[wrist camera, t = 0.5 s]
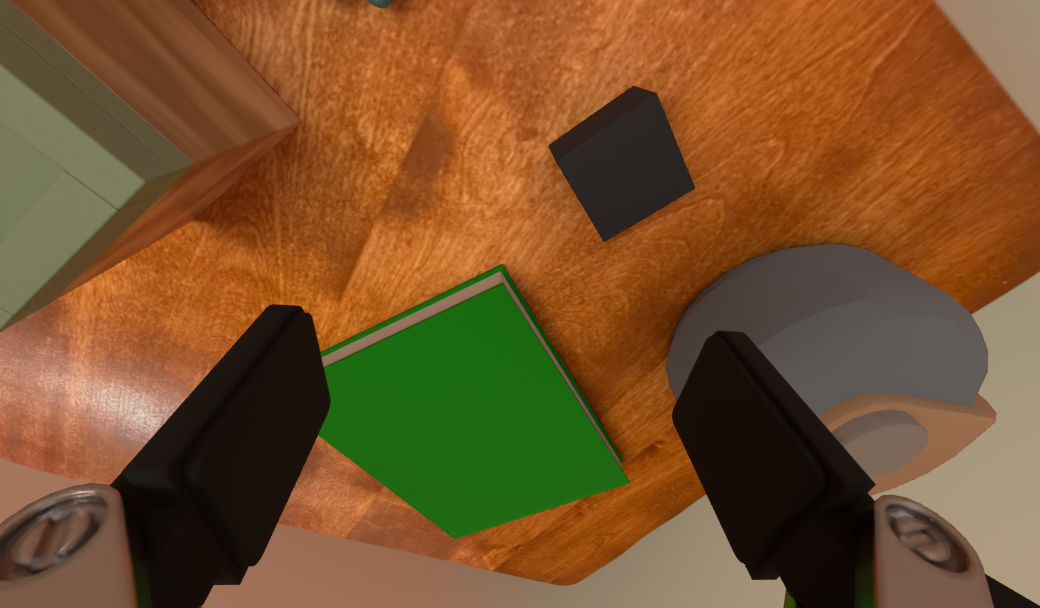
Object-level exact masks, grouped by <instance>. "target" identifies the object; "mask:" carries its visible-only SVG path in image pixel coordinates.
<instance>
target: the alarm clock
mask: <svg viewBox="0 0 1040 608" xmlns="http://www.w3.org/2000/svg"><path fill="white" fill-rule="evenodd" d="M720 330H721V331H738V332H743V333H745V334H746V335H747V336H748V337H749V338H750V339H751V340H752V342H753V343H754V344H755V345H756V346H757V347H758V349H759V350H760V351H761V352H762V353H763V354H764V355H765V357H766V358H767V359H768V360H769V361H770V362H771V364H772V365H773V366H774V367H775V368H776V369H777V370H778V372H779V373H780V374H781V375H782V376H783V377H784V379H785V380H786V381H787V382H788V383H789V384H790V386H791V387H792V388H793V389H794V390H795V391H796V392H797V394H798V395H799V396H800V397H801V398H802V399H803V401H804V402H805V403H806V404H807V405H808V406H809V408H810V409H811V410H812V411H813V412H814V413H815V414H816V416H817V417H818V418H819V419H820V420H821V421H822V423H823V424H824V425H825V426H826V427H827V428H828V429H829V431H830V432H831V433H832V434H833V435H834V436H835V438H836V439H837V440H838V441H839V442H840V443H841V445H842V446H843V447H844V448H845V449H846V450H847V451H848V453H849V454H850V455H851V456H852V457H853V458H854V460H855V461H856V462H857V463H858V464H859V465H860V466H861V468H862V469H863V470H864V471H865V472H866V473H867V475H868V476H869V477H870V478H871V479H872V480H873V482H874V483H875V484H876V485H875V486H874V487H873V488H872V489H871V490H870V491H869V492H868V494H869V495H870V496H871V495H874V494H878V493H881V492H884V491H887V490H890V489H893V488H896V487H898V486H900V485H903V484H905V483H907V482H909V481H911V480H914V479H916V478H918V477H920V476H922V475H925V474H927V473H928V472H930V471H931V470H933V469H935V468H937V467H938V466H940V465H941V464H943V463H945V462H946V461H948V460H950V459H951V458H953V457H954V456H956V455H957V454H958V453H959V452H960V451H961V450H963V449H964V448H965V447H966V446H968V445H969V444H970V443H971V442H972V441H973V440H975V439H976V438H977V437H978V436H980V435H981V434H982V433H983V432H984V431H986V430H987V429H988V428H989V427H990V426H991V425H993V424H994V423H995V421H996V412H995V410H994V409H993V408H992V407H991V406H990V405H989V403H988V402H987V401H986V400H985V399H984V398H983V397H981V396H980V395H979V394H978V391H979V389H980V387H981V385H982V383H983V381H984V379H985V376H986V374H987V370H988V369H987V368H988V350H987V347H986V344H985V341H984V338H983V336H982V333H981V331H980V329H979V327H978V326H977V324H976V322H975V320H974V319H973V317H972V315H971V314H970V312H969V311H968V310H967V309H965V308H964V307H963V306H962V305H961V304H960V303H958V302H957V301H956V300H955V299H954V298H953V297H951V296H950V295H949V294H947V293H945V292H943V291H942V290H940V289H938V288H936V287H935V286H933V285H931V284H929V283H928V282H926V281H924V280H922V279H920V278H919V277H917V276H915V275H913V274H911V273H910V272H908V271H906V270H904V269H902V268H901V267H899V266H897V265H895V264H893V263H891V262H890V261H888V260H886V259H884V258H882V257H881V256H879V255H877V254H875V253H873V252H872V251H870V250H868V249H866V248H860V247H854V246H848V245H842V244H826V245H815V246H804V247H795V248H784V249H781V250H777V251H774V252H771V253H768V254H764V255H761V256H758V257H755V258H752V259H751V260H749V261H747V262H745V263H743V264H741V265H739V266H737V267H735V268H734V269H732V270H730V271H728V272H726V273H725V274H723V275H722V276H721V277H720V278H718V279H717V280H716V281H715V282H713V283H712V284H711V285H709V286H708V287H707V288H706V289H704V290H703V291H702V292H701V293H700V294H699V296H698V297H697V298H696V299H695V300H694V301H693V303H692V304H691V305H690V306H689V307H688V309H687V310H686V311H685V312H684V314H683V316H682V318H681V320H680V322H679V324H678V326H677V328H676V330H675V332H674V336H673V341H672V343H671V345H670V350H669V356H668V361H667V367H666V369H667V374H668V379H669V385H670V388H671V390H672V392H673V394H674V396H675V398H676V400H678V398H679V396H680V394H681V392H682V389H683V387H684V385H685V383H686V381H687V379H688V377H689V375H690V373H691V370H692V368H693V366H694V364H695V362H696V360H697V358H698V356H699V353H700V351H701V349H702V347H703V345H704V343H705V341H706V339H707V338H708V337H709V336H712V335H713V334H714V333H715V332H716V331H720Z"/></svg>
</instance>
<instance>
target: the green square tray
mask: <svg viewBox="0 0 1040 608" xmlns="http://www.w3.org/2000/svg"><path fill="white" fill-rule="evenodd" d="M192 165H193V163H192V162H191V161H190V160H189V159H188V158H186V157H185V156H184V155H183V154H182V153H181V152H180V151H178V150H177V149H176V148H175V147H174V146H173V145H172V144H171V143H169V142H168V141H167V140H166V139H165V138H164V137H163V136H161V135H160V134H159V133H158V132H157V131H156V130H155V129H154V128H152V127H151V126H150V125H149V124H148V123H147V122H146V121H145V120H143V119H142V118H141V117H140V116H139V115H138V114H137V113H135V112H134V111H133V110H132V109H131V108H130V107H129V106H128V105H126V104H125V103H124V102H123V101H122V100H121V99H120V98H118V97H117V96H116V95H115V94H114V93H113V92H112V91H111V90H109V89H108V88H107V87H106V86H105V85H104V84H103V83H101V82H100V81H99V80H98V79H97V78H96V77H95V76H94V75H92V74H91V73H90V72H89V71H88V70H87V69H86V68H85V67H83V66H82V65H81V64H80V63H79V62H78V61H77V60H75V59H74V58H73V57H72V56H71V55H70V54H69V53H68V52H66V51H65V50H64V49H63V48H62V47H61V46H60V45H58V44H57V43H56V42H55V41H54V40H53V39H52V38H51V37H49V36H48V35H47V34H46V33H45V32H44V31H43V30H42V29H40V28H39V27H38V26H37V25H36V24H35V23H34V22H32V21H31V20H30V19H29V18H28V17H27V16H26V15H25V14H23V13H22V12H21V11H20V10H19V9H18V8H17V7H15V6H14V5H13V4H12V3H11V2H10V1H9V0H0V332H1V331H3V330H5V329H6V328H8V327H10V326H12V325H13V324H15V323H17V322H18V321H20V320H22V319H24V318H25V317H27V316H29V315H30V314H32V313H34V312H36V311H38V310H39V309H41V308H43V307H45V306H46V305H48V304H50V303H51V302H53V301H54V300H55V299H56V298H57V297H58V296H59V295H60V294H61V293H62V292H63V291H64V290H65V289H66V288H67V287H68V286H69V285H70V284H71V283H72V282H73V281H74V280H75V279H76V278H77V277H78V276H79V275H80V274H81V273H82V272H83V271H85V270H86V269H87V268H88V267H89V266H90V265H91V264H92V263H93V262H94V261H95V260H96V259H97V258H98V257H99V256H100V255H101V254H102V253H103V252H104V251H105V250H106V249H107V248H108V247H109V246H110V245H111V244H112V243H113V242H114V241H115V240H116V239H117V238H118V237H119V236H120V235H121V234H123V233H124V232H125V231H126V230H127V229H128V228H129V227H130V226H131V225H132V224H133V223H134V222H135V221H136V220H137V219H138V218H139V217H140V216H141V215H142V214H143V213H144V212H145V211H146V210H147V209H148V208H149V207H150V206H151V205H152V204H153V203H154V202H155V201H156V200H157V199H158V198H160V197H161V196H162V195H163V194H164V193H165V192H166V191H167V190H168V189H169V188H170V187H171V186H172V185H173V184H174V183H175V182H176V181H177V180H178V179H179V178H180V177H181V176H182V175H183V174H184V173H185V172H186V171H187V170H188V169H189V168H190V167H191V166H192Z"/></svg>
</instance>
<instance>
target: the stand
mask: <svg viewBox="0 0 1040 608" xmlns="http://www.w3.org/2000/svg"><path fill="white" fill-rule="evenodd" d="M9 1H10V2H11V3H12V4H13V5H14V6H15V7H17V8H18V9H19V10H20V11H21V12H22V13H23V14H25V15H26V16H27V17H28V18H29V19H30V20H31V21H32V22H34V23H35V24H36V25H37V26H38V27H39V28H40V29H42V30H43V31H44V32H45V33H46V34H47V35H48V36H49V37H51V38H52V39H53V40H54V41H55V42H56V43H57V44H58V45H60V46H61V47H62V48H63V49H64V50H65V51H66V52H68V53H69V54H70V55H71V56H72V57H73V58H74V59H75V60H77V61H78V62H79V63H80V64H81V65H82V66H83V67H85V68H86V69H87V70H88V71H89V72H90V73H91V74H92V75H94V76H95V77H96V78H97V79H98V80H99V81H100V82H101V83H103V84H104V85H105V86H106V87H107V88H108V89H109V90H111V91H112V92H113V93H114V94H115V95H116V96H117V97H118V98H120V99H121V100H122V101H123V102H124V103H125V104H126V105H128V106H129V107H130V108H131V109H132V110H133V111H134V112H135V113H137V114H138V115H139V116H140V117H141V118H142V119H143V120H145V121H146V122H147V123H148V124H149V125H150V126H151V127H152V128H154V129H155V130H156V131H157V132H158V133H159V134H160V135H161V136H163V137H164V138H165V139H166V140H167V141H168V142H169V143H171V144H172V145H173V146H174V147H175V148H176V149H177V150H178V151H180V152H181V153H182V154H183V155H184V156H185V157H186V158H188V159H189V160H190V161H191V162H192V163H193V165H192V166H191V167H190V168H189V169H188V170H187V171H186V172H185V173H184V174H183V175H182V176H181V177H180V178H179V179H178V180H177V181H176V182H175V183H174V184H173V185H172V186H171V187H170V188H169V189H168V190H167V191H166V192H165V193H164V194H163V195H162V196H161V197H160V198H158V199H157V200H156V201H155V202H154V203H153V204H152V205H151V206H150V207H149V208H148V209H147V210H146V211H145V212H144V213H143V214H142V215H141V216H140V217H139V218H138V219H137V220H136V221H135V222H134V223H133V224H132V225H131V226H130V227H129V228H128V229H127V230H126V231H125V232H124V233H123V234H121V235H120V236H119V237H118V238H117V239H116V240H115V241H114V242H113V243H112V244H111V245H110V246H109V247H108V248H107V249H106V250H105V251H104V252H103V253H102V254H101V255H100V256H99V257H98V258H97V259H96V260H95V261H94V262H93V263H92V264H91V265H90V266H89V267H88V268H87V269H86V270H85V271H83V272H82V273H81V274H80V275H79V276H78V277H77V278H76V279H75V280H74V281H73V282H72V283H71V284H70V285H69V286H68V287H67V288H66V289H65V290H64V291H63V292H62V293H61V294H60V295H59V296H58V297H57V298H56V299H58V298H60V297H62V296H63V295H65V294H67V293H68V292H70V291H72V290H74V289H75V288H77V287H79V286H81V285H82V284H84V283H86V282H87V281H89V280H91V279H93V278H94V277H96V276H98V275H99V274H101V273H103V272H105V271H106V270H108V269H110V268H112V267H113V266H115V265H117V264H118V263H120V262H122V261H124V260H125V259H127V258H129V257H131V256H132V255H134V254H136V253H137V252H139V251H141V250H143V249H144V248H146V247H148V246H150V245H151V244H153V243H155V242H156V241H158V240H160V239H162V238H163V237H165V236H167V235H168V234H170V233H172V232H174V231H175V230H177V229H179V228H181V227H182V226H184V225H186V224H187V223H189V222H191V221H193V220H194V219H195V218H196V217H197V216H198V215H199V214H200V213H201V212H203V211H204V210H205V209H206V208H207V207H208V206H209V205H210V204H211V203H213V202H214V201H215V200H216V199H217V198H218V197H219V196H220V195H221V194H222V193H224V192H225V191H226V190H227V189H228V188H229V187H230V186H231V185H232V184H233V183H235V182H236V181H237V180H238V179H239V178H240V177H241V176H242V175H243V174H244V173H246V172H247V171H248V170H249V169H250V168H251V167H252V166H253V165H254V164H255V163H257V162H258V161H259V160H260V159H261V158H262V157H263V156H264V155H265V154H267V153H268V152H269V151H270V150H271V149H272V148H273V147H274V146H275V145H276V144H278V143H279V142H280V141H281V140H282V139H283V138H284V137H285V136H286V135H287V134H289V133H290V132H291V131H292V130H293V129H294V128H295V127H296V126H297V125H298V124H300V123H301V120H300V119H299V118H298V116H297V115H296V114H295V113H294V112H293V111H292V110H291V109H290V108H289V107H288V106H287V104H286V103H285V102H284V101H283V100H282V99H281V98H280V97H279V96H278V95H277V94H276V92H275V91H274V90H273V89H272V88H271V87H270V86H269V85H268V84H267V83H266V81H265V80H264V79H263V78H262V77H261V76H260V75H259V74H258V73H257V72H256V71H255V69H254V68H253V67H252V66H251V65H250V64H249V63H248V62H247V61H246V60H245V59H244V57H243V56H242V55H241V54H240V53H239V52H238V51H237V50H236V49H235V48H234V47H233V45H232V44H231V43H230V42H229V41H228V40H227V39H226V38H225V37H224V36H223V34H222V33H221V32H220V31H219V30H218V29H217V28H216V27H215V26H214V25H213V24H212V22H211V21H210V20H209V19H208V18H207V17H206V16H205V15H204V14H203V13H202V12H201V10H200V9H199V8H198V7H197V6H196V5H195V4H194V3H193V2H192V1H191V0H9ZM56 299H55V300H56Z"/></svg>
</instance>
